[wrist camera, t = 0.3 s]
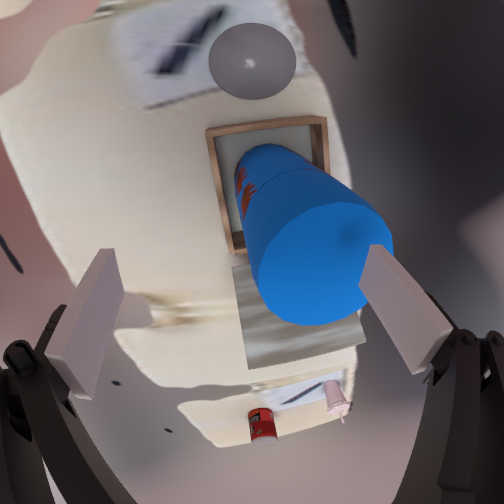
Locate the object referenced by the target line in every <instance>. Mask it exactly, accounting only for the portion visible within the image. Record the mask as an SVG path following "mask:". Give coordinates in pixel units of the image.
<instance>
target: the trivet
mask: <svg viewBox="0 0 504 504" xmlns="http://www.w3.org/2000/svg"><path fill="white" fill-rule="evenodd" d="M209 67H210V71H211V74H212V76H213V78H214V80H215V81H216V82H217V84H218V85H219V86H220V87H221V88H222V89H224V90H225V91H226V92H228V93H230V94H231V95H234V96H236V97H239V98H243V99H262V98H267V97H270V96H272V95H275V94H277V93H278V92H280V91H281V90H282V89H284V88H285V87H286V86H287V85H288V83H289V82H290V81H291V79H292V77H293V75H294V72H295V68H296V56H295V52H294V49H293V47H292V45H291V43H290V42H289V41H288V39H287V38H286V37H285V36H284V35H283V34H282V33H280V32H279V31H277V30H276V29H274V28H272V27H270V26H267V25H263V24H258V23H246V24H240V25H236V26H234V27H231V28H229V29H228V30H226V31H225V32H223V33H222V34H221V35H220V36H219V37H218V38H217V39H216V40H215V42H214V44H213V45H212V48H211V50H210V54H209Z"/></svg>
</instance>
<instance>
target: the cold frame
mask: <svg viewBox="0 0 504 504" xmlns="http://www.w3.org/2000/svg"><path fill="white" fill-rule="evenodd" d="M307 124H310V132H311V143H312V155H313V164H314V165H316V166H317V167H319V168H320V169H322V170H323V171H325V172H326V173H328V174H329V175H330V157H329V142H328V129H327V118H326V117H321V116H314V115H313V116H299V117H288V118H278V119H269V120H261V121H253V122H246V123H240V124H233V125H227V126H222V127H216V128H211V129H207V130H206V132H205V134H206V139H207V144H208V150H209V155H210V160H211V166H212V171H213V176H214V181H215V186H216V191H217V196H218V201H219V206H220V211H221V216H222V221H223V226H224V231H225V236H226V240H227V245H228V250H229V254H232V253H235V255H238V254H244V253H248V252H247V248H246V243H245V238H244V233H243V231H240V232H234V233H232V231H231V225H230V220H229V215H228V210H227V205H226V199H225V194H224V189H223V183H222V178H221V173H220V167H219V162H218V156H217V151H216V145H215V140H214V137H216V136H222V135H228V134H233V133H240V132H246V131H253V130H260V129H268V128H276V127H285V126H295V125H307ZM232 272H233V278H234V285H235V291H236V297H237V304H238V310H239V316H240V322H241V328H242V335H243V341H244V346H245V352H246V358H247V364H248V369H249V370H251V369H256V368H262V367H267V366H273V365H278V364H283V363H287V362H292V361H297V360H301V359H305V358H310V357H314V356H318V355H322V354H326V353H330V352H333V351H337V350H341V349H344V348H348V347H351V346H355V345H358V344H361V343H365V342H366V339H365V335H364V333H363V329H362V326H361V323H360V320H359V317H358V314H357V311H355V312H354V313H352V314H350V315H349V316H347V317H345V318H344V319H341V320H337V321H334V322H331V323H328V324H324V325H307V326H302V325H298V324H294V323H291V322H287V321H284V320H282V319H281V318H279V317H278V316H277V315H275V314H274V313H273V312H271V311H270V310H269V309H268V308H267V306H266V304H265V302H264V300H263V298H262V297H261V295H260V293H259V291H258V288H257V286H256V284H255V282H254V279H253V276H252V272H251V267H250V264H248V265H242V266H237V267H232Z"/></svg>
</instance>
